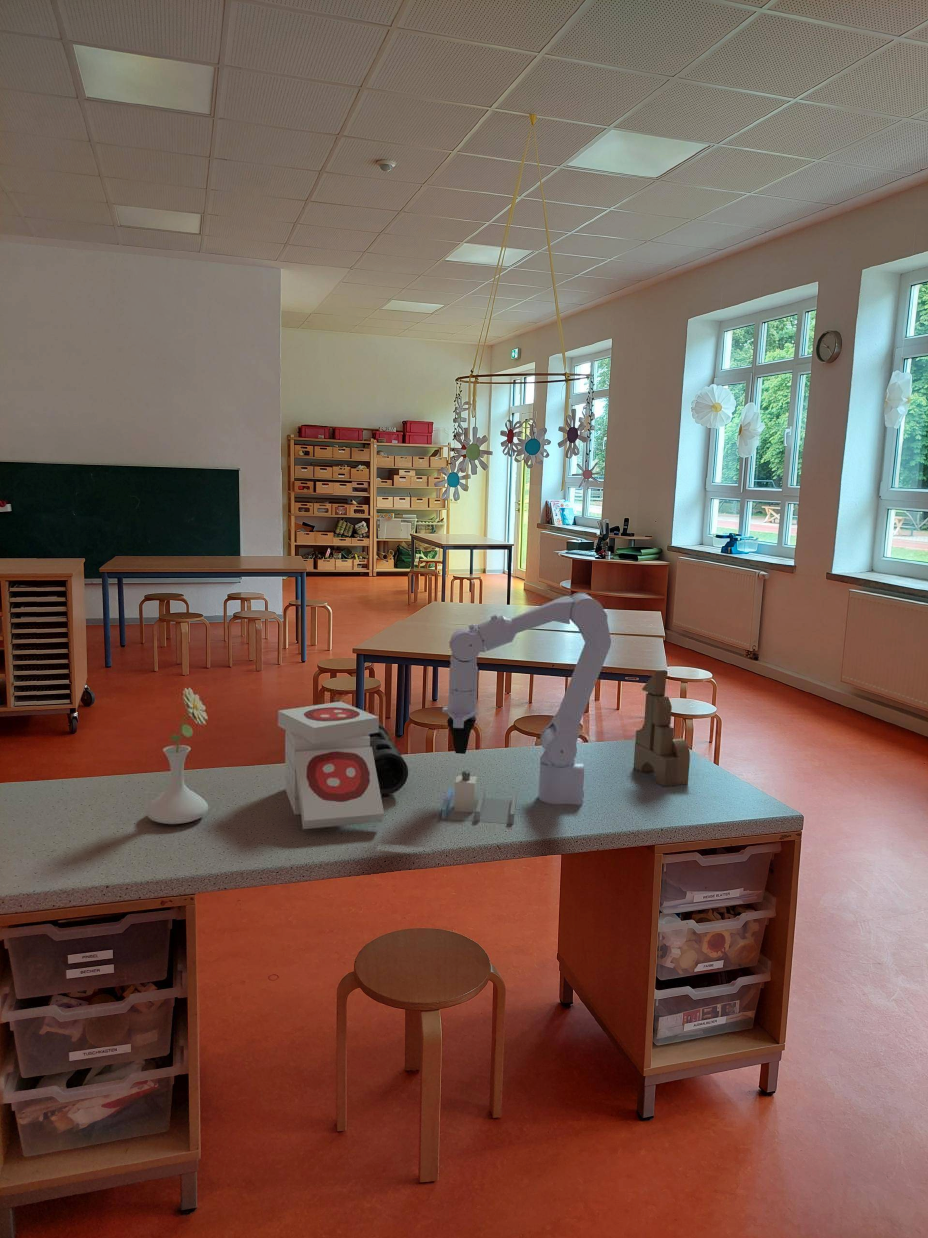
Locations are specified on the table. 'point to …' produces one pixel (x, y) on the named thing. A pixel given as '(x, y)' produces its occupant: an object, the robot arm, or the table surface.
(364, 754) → the pizza boxes
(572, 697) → the robot arm
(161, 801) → the flower in vase
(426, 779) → the table surface
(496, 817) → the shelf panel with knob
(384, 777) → the muzzle brake
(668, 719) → the wooden toy
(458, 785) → the plug
